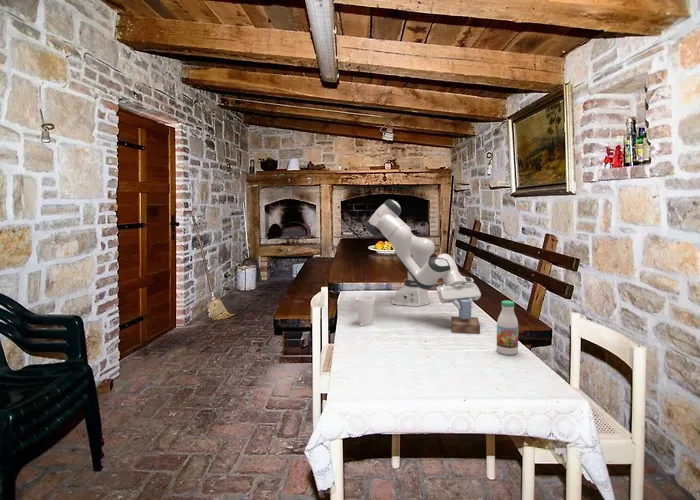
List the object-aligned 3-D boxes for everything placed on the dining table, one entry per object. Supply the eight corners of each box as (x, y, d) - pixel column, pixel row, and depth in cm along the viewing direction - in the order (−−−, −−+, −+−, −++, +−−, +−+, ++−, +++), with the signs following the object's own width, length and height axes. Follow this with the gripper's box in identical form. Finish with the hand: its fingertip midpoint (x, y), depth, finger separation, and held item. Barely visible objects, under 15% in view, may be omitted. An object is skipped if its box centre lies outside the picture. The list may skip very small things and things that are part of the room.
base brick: (452, 332, 174) (452, 324, 173) (451, 324, 185) (451, 316, 185) (479, 333, 171) (480, 325, 170) (477, 325, 183) (477, 317, 182)
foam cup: (377, 321, 193) (377, 296, 192) (372, 327, 185) (372, 300, 183) (359, 320, 196) (358, 295, 195) (353, 325, 188) (353, 299, 186)
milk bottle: (492, 348, 153) (493, 299, 151) (511, 347, 154) (512, 298, 152) (502, 356, 146) (503, 304, 143) (521, 354, 146) (522, 303, 144)
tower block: (458, 316, 179) (458, 299, 178) (466, 315, 180) (466, 299, 179) (463, 319, 175) (463, 301, 174) (471, 318, 176) (471, 301, 175)
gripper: (437, 281, 179) (447, 307, 171) (475, 278, 185) (487, 302, 177) (432, 289, 184) (442, 314, 176) (470, 285, 190) (481, 309, 181)
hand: (465, 308), depth 176 cm, fingers closed on tower block, 4 cm apart
